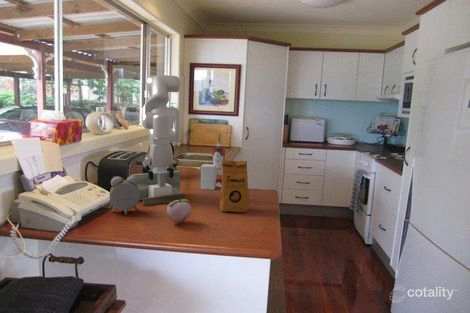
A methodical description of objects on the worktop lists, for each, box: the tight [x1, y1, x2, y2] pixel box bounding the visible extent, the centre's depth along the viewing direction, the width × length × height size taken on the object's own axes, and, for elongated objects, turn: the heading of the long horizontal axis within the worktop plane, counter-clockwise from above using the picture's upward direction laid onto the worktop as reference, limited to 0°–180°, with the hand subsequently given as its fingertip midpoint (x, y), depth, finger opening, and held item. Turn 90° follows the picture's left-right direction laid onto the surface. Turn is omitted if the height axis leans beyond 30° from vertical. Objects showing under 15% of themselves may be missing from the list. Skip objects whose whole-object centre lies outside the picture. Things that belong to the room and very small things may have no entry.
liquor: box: [212, 133, 226, 183], centre depth 204 cm, size 7×7×28 cm
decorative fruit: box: [166, 198, 192, 224], centre depth 130 cm, size 9×8×10 cm
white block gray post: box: [148, 173, 172, 198], centre depth 161 cm, size 6×9×13 cm, turn 126°
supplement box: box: [200, 163, 217, 191], centre depth 187 cm, size 7×7×13 cm
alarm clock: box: [109, 175, 140, 216], centre depth 140 cm, size 12×7×15 cm, turn 111°
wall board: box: [130, 170, 186, 207], centre depth 161 cm, size 11×24×12 cm, turn 125°
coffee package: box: [219, 159, 250, 213], centre depth 148 cm, size 10×12×22 cm
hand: (161, 178), depth 160 cm, fingers open, 9 cm apart
